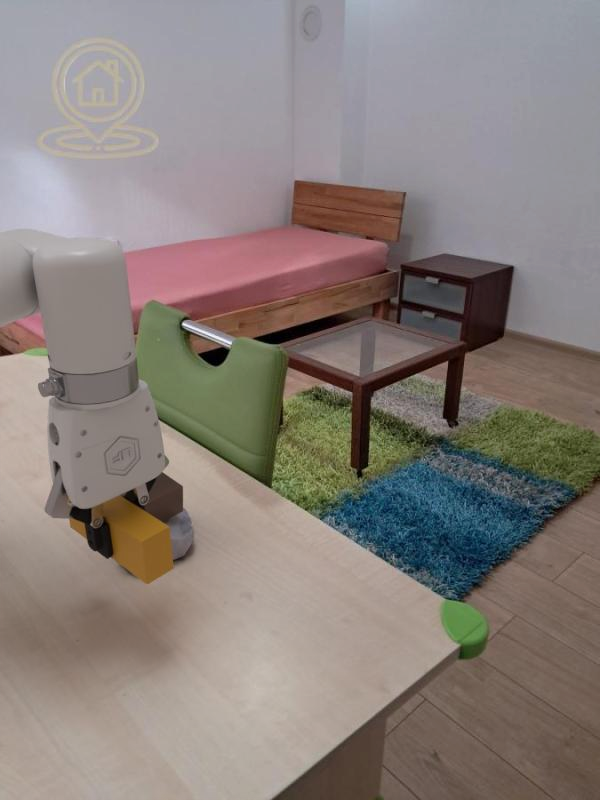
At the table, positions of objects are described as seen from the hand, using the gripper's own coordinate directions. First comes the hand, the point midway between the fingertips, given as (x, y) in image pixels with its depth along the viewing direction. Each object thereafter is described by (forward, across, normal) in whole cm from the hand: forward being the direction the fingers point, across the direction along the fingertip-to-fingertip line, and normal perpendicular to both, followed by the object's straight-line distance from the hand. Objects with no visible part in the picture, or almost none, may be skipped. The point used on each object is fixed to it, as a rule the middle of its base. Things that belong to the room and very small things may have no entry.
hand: (119, 541), depth 65 cm
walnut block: (+7, +11, +11) cm, 17 cm away
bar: (+1, 0, 0) cm, 1 cm away
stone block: (+11, +11, +10) cm, 19 cm away
